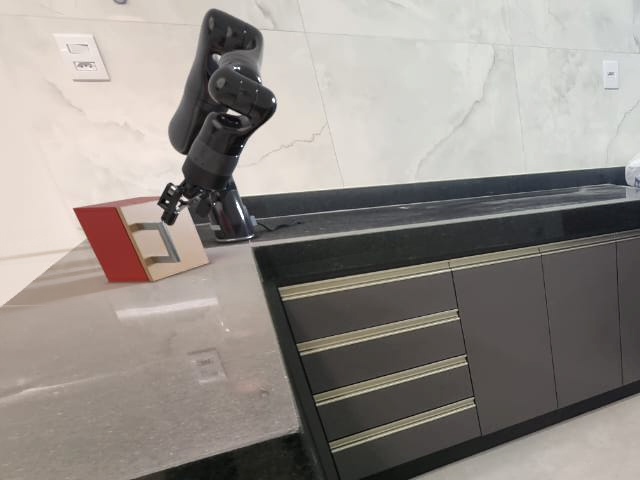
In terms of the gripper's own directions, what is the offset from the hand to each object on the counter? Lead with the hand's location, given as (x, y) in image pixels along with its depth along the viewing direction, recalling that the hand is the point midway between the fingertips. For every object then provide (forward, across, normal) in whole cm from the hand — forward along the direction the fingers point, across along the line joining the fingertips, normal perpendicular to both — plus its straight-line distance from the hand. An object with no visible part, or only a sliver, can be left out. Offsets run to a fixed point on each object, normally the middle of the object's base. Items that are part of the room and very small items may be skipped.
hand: (184, 219), depth 115 cm
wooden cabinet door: (+15, +5, -3) cm, 17 cm away
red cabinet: (+22, +5, +3) cm, 22 cm away
